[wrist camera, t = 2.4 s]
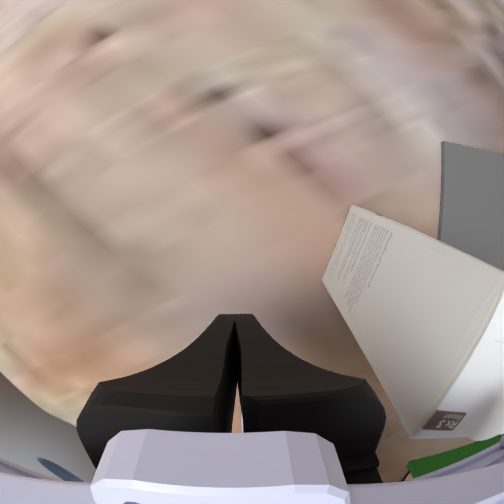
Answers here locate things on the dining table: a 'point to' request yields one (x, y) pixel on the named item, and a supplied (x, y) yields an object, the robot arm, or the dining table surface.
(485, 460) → the robot arm
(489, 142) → the dining table surface
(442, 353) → the skincare box
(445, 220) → the mat
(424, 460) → the hardback book
